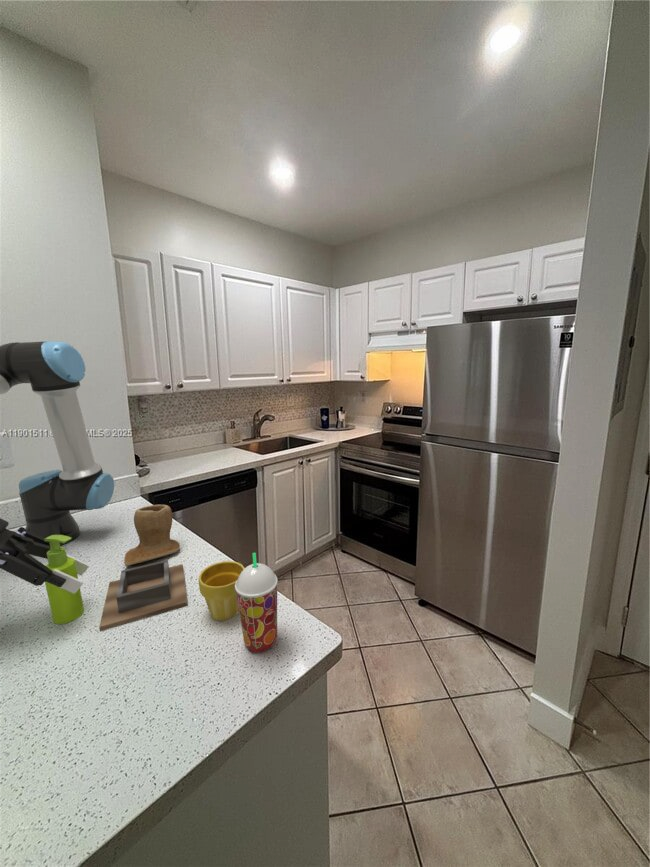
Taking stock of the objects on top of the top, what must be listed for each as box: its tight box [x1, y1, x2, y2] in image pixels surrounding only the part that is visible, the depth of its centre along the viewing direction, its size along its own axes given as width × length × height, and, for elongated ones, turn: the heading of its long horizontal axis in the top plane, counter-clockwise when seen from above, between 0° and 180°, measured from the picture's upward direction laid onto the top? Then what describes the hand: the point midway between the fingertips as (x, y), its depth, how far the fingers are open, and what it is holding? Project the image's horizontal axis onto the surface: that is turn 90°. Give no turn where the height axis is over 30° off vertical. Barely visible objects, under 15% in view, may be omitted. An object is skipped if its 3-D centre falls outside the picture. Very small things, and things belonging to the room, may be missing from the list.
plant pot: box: [198, 560, 246, 621], centre depth 81 cm, size 10×10×10 cm
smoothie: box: [235, 552, 279, 653], centre depth 71 cm, size 8×8×20 cm
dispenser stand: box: [98, 559, 188, 632], centre depth 88 cm, size 18×18×5 cm
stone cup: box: [123, 504, 181, 567], centre depth 106 cm, size 15×12×15 cm
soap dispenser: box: [44, 535, 85, 625], centre depth 80 cm, size 6×7×20 cm
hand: (82, 578), depth 82 cm, fingers open, 7 cm apart
